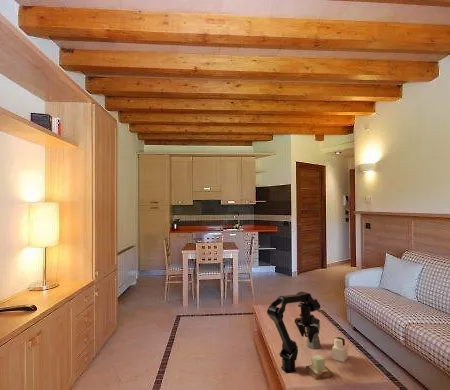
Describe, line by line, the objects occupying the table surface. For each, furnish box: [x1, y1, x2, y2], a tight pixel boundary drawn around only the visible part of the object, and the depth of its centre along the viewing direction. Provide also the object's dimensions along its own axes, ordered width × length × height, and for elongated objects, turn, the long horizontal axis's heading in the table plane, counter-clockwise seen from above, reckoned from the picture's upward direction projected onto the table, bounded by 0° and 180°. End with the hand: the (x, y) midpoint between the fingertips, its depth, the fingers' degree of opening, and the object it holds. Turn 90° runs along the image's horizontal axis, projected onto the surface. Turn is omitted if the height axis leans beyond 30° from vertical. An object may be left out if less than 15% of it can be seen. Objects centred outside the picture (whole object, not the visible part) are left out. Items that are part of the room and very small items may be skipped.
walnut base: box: [305, 364, 333, 380], centre depth 175 cm, size 10×10×3 cm
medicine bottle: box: [331, 336, 349, 363], centre depth 192 cm, size 7×7×12 cm
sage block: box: [311, 354, 326, 371], centre depth 176 cm, size 5×5×6 cm
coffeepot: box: [304, 321, 322, 350], centre depth 210 cm, size 15×9×18 cm, turn 119°
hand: (306, 339), depth 189 cm, fingers open, 9 cm apart
